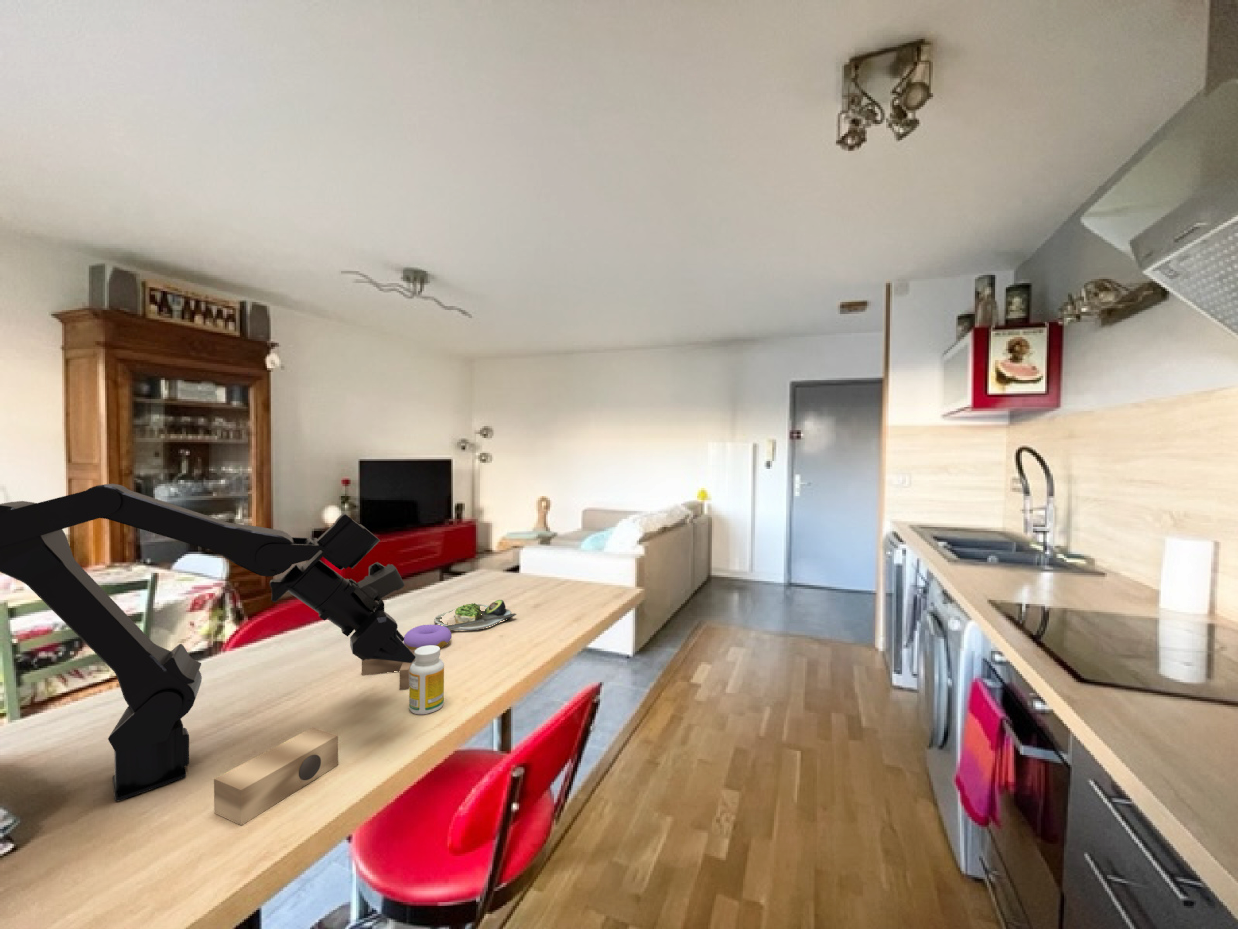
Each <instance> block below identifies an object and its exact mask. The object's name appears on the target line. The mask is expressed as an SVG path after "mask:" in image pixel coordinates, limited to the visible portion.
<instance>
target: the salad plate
mask: <svg viewBox="0 0 1238 929" xmlns="http://www.w3.org/2000/svg"><path fill="white" fill-rule="evenodd" d="M480 606H484V607H487V608H486V609H485V611H481V610H480ZM506 607H507V606H506V604H505V602H504V600H503V599H497V600H495V601H493V602H491V603H490V605H488V604H482V603H476V602H474V603H467V604H463V605H461V606H458V607H457V608H454V609H452V610H448V611H446V612H443V613H441V614H438V615H436V616H435V618H434V620H433V621H434V623H435V624H436V623H437V624H440V625H443V626H444V627H446V628H448V629H449V630H450V631H453V630H476V631H478V630H477V629H483V628H486V627H489V626H492V625H494V624H496V623H499V622H500V621H503V620H506V619H508V620H510V619H511V618H513V617H515V616H517V613H512V611H511V610H510V609H507V608H506ZM455 609H456V610H455ZM453 610H455V617H454V621H455V623H454V624H452V625H448V624H449V623H447V624H444V623H443V622H442V621H440V619H442V617H441V616H444V615H445V614H446V613H450V612H452V611H453ZM481 614H482V615H481ZM437 624H436V625H437ZM492 627H493V626H492ZM483 630H484V629H483Z"/></svg>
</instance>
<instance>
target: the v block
mask: <svg viewBox="0 0 1238 929" xmlns="http://www.w3.org/2000/svg"><path fill="white" fill-rule="evenodd" d="M409 650H410V649H409ZM415 650H416V649H414V650H410V651H411V652H412V653H413V654H414V651H415ZM413 662H415V659H414V660H413ZM413 662H412V663H413ZM412 663H406V662H398V661H390V660H379V659H369V660H367V659H365V660H364V661H363V660H361V676H369V674H370V675H379V674H380V673H381V674H388V673H387V672H392V673H395V672H394V671H400V672H399V690H400V691H403V690H409V673H410V666H411V665H412Z"/></svg>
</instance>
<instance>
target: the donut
mask: <svg viewBox="0 0 1238 929" xmlns="http://www.w3.org/2000/svg"><path fill="white" fill-rule="evenodd" d="M403 637H404V641H403V643H404V644H405V645H406V646H407V647H408V648H409V650H414V649H417V648H419V647H422V646H428V645H435V646H438V647H440V649H442V648H444V647H446V646H447V645H448V644H450V641H451V639H452V632H451V630H449V629H448V628H446V627H444V626H441V625H437V624H422V625H417V626H415V627H413V628H411V629H410V630H408V631H407V632H406V633H405V634H404V636H403ZM441 647H442V648H441Z"/></svg>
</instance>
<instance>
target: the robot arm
mask: <svg viewBox="0 0 1238 929" xmlns="http://www.w3.org/2000/svg"><path fill="white" fill-rule="evenodd" d="M99 519H105V520H109V521H112V522H115V523H120V524H123V525H125V526H129V527H132V528H136V529H140V530H142V531H146V532H148V533H153V534H156V535H159V536H162V537H166V538H169V539H173V540H176V541H179V542H183V543H186V544H190V545H192V546H196V547H199V548H202V549H206V550H209V551H212V552H213V553H216V554H218V555H220V556H222V557H223V558H225V559H227V560H228V561H230V562H232V563H233V564H235V565H237V566H239V567H241V568H243V569H246V570H247V571H249V572H251V573H254V574H255V575H258V576H261V577H267V578H269V577H275V576H279V575H280V574H283V573H285V572H286V571H287V570H288V571H287V572H286V573H285V574H284V575H283V576H282V577H281V578H277V579H275V578H273V579H271V580H270V581H269V587H270V589H271V598H270V600H271V601H272V602H273V603H276V602H278V601H279V599H281V597H283V596H284V595H285V594H286V593H289V594H290V595H292V596H294V597H295V598H296V599H298V600H299V601H301V602H302V603H303V604H305V605H306V606H308V607H309V608H311V609H312V610H313V611H315V612H316V613H318V617H319V618H320V619H321V620H323V621H326V620H328V621H329V622H331V623H332V624H334V625H335V626H336V627H338V629H341V634H343V635H345V636H346V637H349V636H350V637H349V638H350V639H349V640H350V641H349V644H350V645H349V646H350V650H351V652H352V655H354V656H355V657H357V658H359V659H360V660H361V661H362V660H363V661H364V660H365V659H367V660H369V659H379V660H390V661H398V662H406V663H412V662H413V660H414V659H415V658H416V657H415V655H414V654H413V653H412V652H411V651H410V649H409V648H408V647H407V646H406V645H405V644H404V636H403V635H402V634H401V632H400V631H399V630H398V626H399V625H398V623H397V621H396V620H395V618H393V617H392V616H391V615H390V614H389V613H387V612H386V611H385V602H384V600H383V598H384V597H386V596H388V595H389V594H391V593H393V592H395V591H400V590H401V589H403V588H404V587H405V586H406V584H405V582H404V580H403V579H402V576H401V574H400V573H399V571H398V569H397V567H396V566H395V565H394V564H390V563H388V564H387V565H386V566H385V565H383V564H381V563H380V562H378V561H376V562H374V563H373V564H370V565H369V566H368V575H366V576H364V578H363V579H362V580H360V581H358V582H356V581H355V580H353V579H352V578H350V579H349V578H344V577H343V576H342V575H341V574H339V573H338V572H337V571H336V570H334V569H332V568H331V567H330V566H329V565H327V564H326V563H324V562H323V561H322V560H321V559H322V558H324V559H325V561H327V562H329V563H330V564H331V565H333V566H334V567H335V568H336V569H338V570H340V571H342V570H343V569H345V570H347V569H348V568H350V569H354V568H355V567H356V566H357V565H358V564H359V563H360V562H361V561H362V560H363V559H364V557H366V555H368V553H370V552H371V551H372V550H373V548H374V547H376V545H378V544H379V542H381V540H380V539H379V538H378V537H377V536H375V535H374V534H373V533H372V532H371V531H370V530H368V528H366V527H365V526H364V525H362V524H361V523H360V524H359V523H357V521H356V520H354V519H353V518H351V517H350V516H349V515H348V514H347V513H342V514H341V515H340V516H338V518H336V520H335V521H334V523H333V524H332V525H331V526H330V527H329V528H328V529H326V531H325V532H323V533H322V534H321V535H320V536H319V537H318V538H317V537H310V536H308V537H301V536H300V537H297V536H294V537H293V536H292V535H290V534H289V533H287V532H285V531H283V530H281V529H280V530H279V529H273V528H267V527H262V526H256V525H249V524H241V523H239V524H238V523H233V522H227V521H225V520H222V519H218V518H215V517H212V516H209V515H206V514H204V513H200V512H196V511H195V510H191V509H188V508H186V507H181V506H180V505H177V504H176V505H175V504H173V503H169V502H166V501H164V500H160V499H158V498H154V497H152V496H149V495H145V494H143V493H140V492H137V491H133V490H130V489H128V488H127V487H125V486H124V485H121V484H117V483H104V484H99V485H95V486H91V487H89V488H88V489H86V490H83V491H79V492H75V493H72V494H67V495H63V496H59V497H56V498H52V499H49V500H44V501H40V502H32V501H26V500H24V501H23V500H18V501H10V502H3V503H0V573H1V574H3V575H6V576H8V577H10V578H13V579H14V580H17V581H19V582H21V583H23V584H24V585H26V586H28V588H29V589H30V590H32V591H33V593H34V594H35V595H37V597H38V598H40V599H41V600H42V601H43V602H44V604H45V605H47V606H48V607H49V609H50V610H52V611H53V612H54V614H56V615H57V616H58V618H59V619H60V620H62V621H63V622H64V623H65V624H66V625H67V627H68V628H69V629H71V631H72V632H74V633H75V635H76V636H78V637H79V638H80V639H81V641H83V642H84V643H85V645H87V646H88V648H90V649H91V650H92V651H93V652H94V654H95V655H97V656H98V657H99V658H100V660H102V661H103V662H104V663H105V664H106V665H107V667H109V668H110V669H111V670H112V671H113V673H114V674H115V676H116V679H117V682H118V684H119V687H120V690H121V693H122V696H123V699H124V701H125V702H126V704H127V708H125V710H124V712H123V714H122V715H121V717H120V719H119V720H118V722H117V723H116V725H115V726H114V728H113V729H112V732H110V735H109V736H108V739H107V740H108V742H109V743H110V745H111V746H112V749H113V752H114V754H113V755H114V757H113V758H114V775H113V776H112V787H113V795H114V801H115V802H119V801H122V800H126V799H128V798H131V797H133V796H137V795H139V794H142V793H145V792H148V791H150V790H154V789H157V788H159V787H162V786H165V785H168V784H171V783H174V782H176V781H179V780H181V779H184V778H185V777H187V770H186V767H188V765H190V735H189V731H188V729H187V728H186V727H184V723H183V721H182V719H183V717H185V716H186V715H188V713H189V712H190V711H191V709H192V708H193V706H194V704H195V702H196V699H197V695H198V693H199V690H200V687H201V684H202V679H203V677H202V673H201V671H200V669H201V666H202V662H201V661H198V660H195V659H194V658H193V657H191V655H190V654H189V652H188V651H187V649H186V647H185V646H184V644H182V643H179V644H178V645H176V647H174V648H172V650H169V649H166V648H164V647H161V646H159V645H157V644H156V643H154V642H153V641H152V639H151V638H150V637H148V636H147V635H146V633H144V631H143V630H142V629H141V628H140V626H138V625H137V624H136V623H135V622H134V621H133V620H132V619H131V618H130V616H129V615H128V614H127V613H126V612H125V611H124V610H123V609H122V608H121V607H120V606H119V605H118V604H117V603H116V602H115V600H113V599H112V597H111V596H109V594H108V593H107V592H106V591H105V590H104V589H103V588H102V587H101V586H100V585H99V583H97V582H96V581H95V580H94V579H93V577H92V576H90V575H89V573H87V572H86V570H85V569H84V568H83V567H82V566H81V565H80V564H79V562H77V561H76V559H75V558H74V555H73V552H72V549H71V546H70V544H69V541H68V540H69V539H68V538H67V534H65V532H64V530H63V529H68V528H71V527H74V526H79V525H80V524H84V523H87V522H92V521H94V520H99ZM303 562H305V563H304V564H303V565H301V564H299V563H303ZM293 565H294V566H293ZM292 566H293V567H292Z"/></svg>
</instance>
